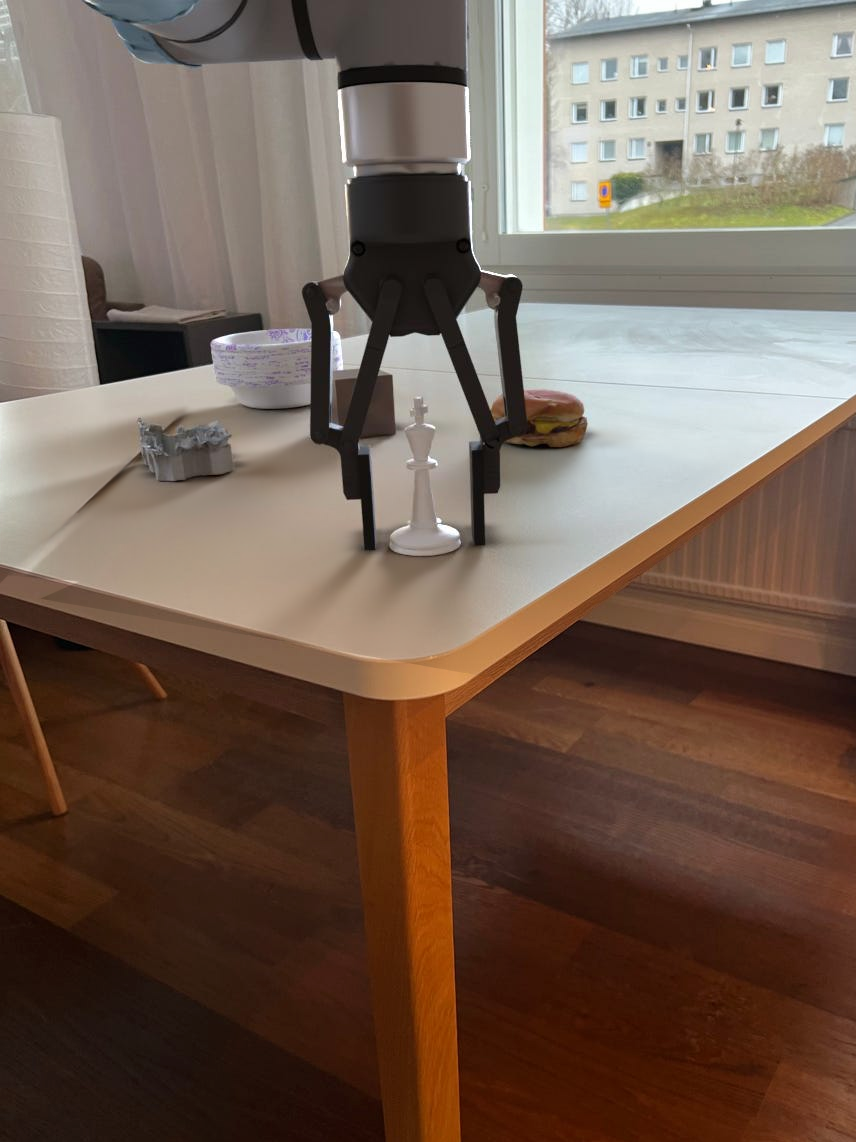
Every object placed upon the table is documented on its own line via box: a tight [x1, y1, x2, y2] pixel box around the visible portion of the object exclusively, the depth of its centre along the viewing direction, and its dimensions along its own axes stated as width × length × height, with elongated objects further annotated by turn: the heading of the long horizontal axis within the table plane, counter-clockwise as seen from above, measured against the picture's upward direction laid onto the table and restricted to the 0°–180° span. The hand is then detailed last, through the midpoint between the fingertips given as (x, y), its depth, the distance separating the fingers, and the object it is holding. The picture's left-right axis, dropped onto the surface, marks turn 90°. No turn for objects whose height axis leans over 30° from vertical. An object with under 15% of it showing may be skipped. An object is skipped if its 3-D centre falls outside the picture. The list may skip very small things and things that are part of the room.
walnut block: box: [331, 367, 397, 439], centre depth 102 cm, size 6×6×6 cm
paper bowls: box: [210, 328, 344, 410], centre depth 119 cm, size 15×15×8 cm
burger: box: [490, 388, 588, 448], centre depth 97 cm, size 10×9×5 cm
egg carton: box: [136, 417, 235, 482], centre depth 90 cm, size 11×8×4 cm
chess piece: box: [388, 396, 462, 557], centre depth 66 cm, size 5×5×10 cm
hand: (424, 541), depth 68 cm, fingers open, 7 cm apart
